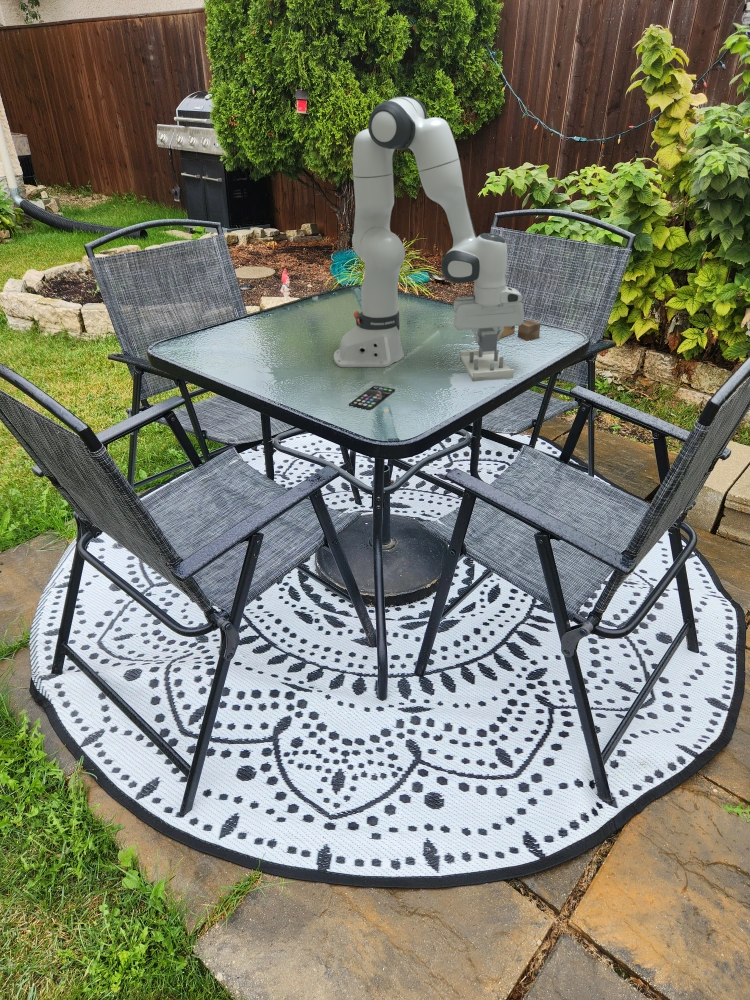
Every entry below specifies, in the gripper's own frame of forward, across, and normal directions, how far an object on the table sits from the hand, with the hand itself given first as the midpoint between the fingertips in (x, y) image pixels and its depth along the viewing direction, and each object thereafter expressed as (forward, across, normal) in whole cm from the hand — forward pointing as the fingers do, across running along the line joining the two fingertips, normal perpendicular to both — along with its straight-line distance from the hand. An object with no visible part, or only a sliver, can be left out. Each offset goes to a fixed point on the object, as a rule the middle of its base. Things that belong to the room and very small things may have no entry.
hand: (487, 341), depth 197 cm
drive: (+2, 0, +1) cm, 2 cm away
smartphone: (+9, -36, -15) cm, 40 cm away
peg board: (+8, 0, 0) cm, 8 cm away
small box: (+9, +12, +28) cm, 32 cm away
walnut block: (+8, +20, +23) cm, 32 cm away
